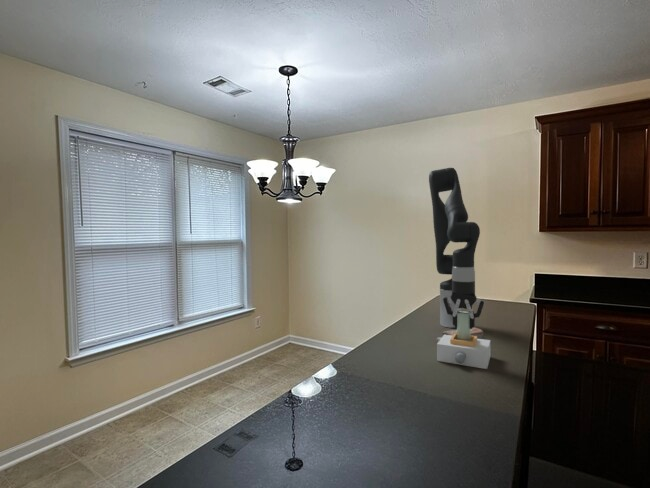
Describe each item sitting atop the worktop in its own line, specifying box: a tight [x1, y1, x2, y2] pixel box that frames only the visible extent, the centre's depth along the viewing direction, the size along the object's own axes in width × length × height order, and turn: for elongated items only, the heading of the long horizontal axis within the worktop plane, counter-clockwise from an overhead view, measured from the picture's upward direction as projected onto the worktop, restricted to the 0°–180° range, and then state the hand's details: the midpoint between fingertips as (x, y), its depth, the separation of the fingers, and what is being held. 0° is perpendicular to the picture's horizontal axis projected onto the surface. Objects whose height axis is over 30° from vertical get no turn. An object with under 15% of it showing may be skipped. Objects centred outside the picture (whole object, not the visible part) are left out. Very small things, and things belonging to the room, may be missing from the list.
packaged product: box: [436, 326, 489, 342], centre depth 145 cm, size 18×5×10 cm
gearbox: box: [436, 333, 491, 370], centre depth 124 cm, size 15×16×8 cm
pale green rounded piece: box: [456, 310, 470, 340], centre depth 125 cm, size 4×4×9 cm
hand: (463, 327), depth 125 cm, fingers closed on pale green rounded piece, 4 cm apart
